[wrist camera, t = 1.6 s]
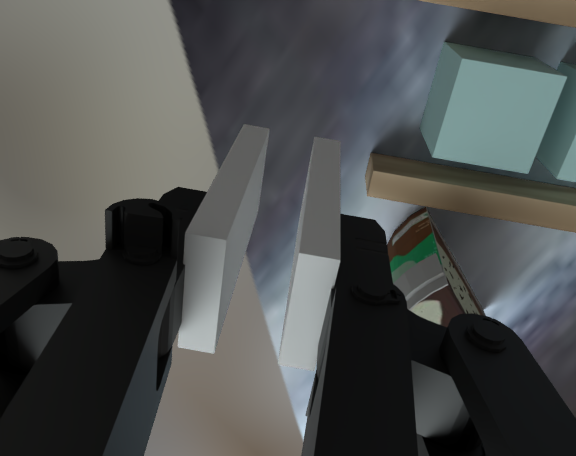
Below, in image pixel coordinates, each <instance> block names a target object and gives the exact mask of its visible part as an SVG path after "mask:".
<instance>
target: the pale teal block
mask: <svg viewBox="0 0 576 456" xmlns="http://www.w3.org/2000/svg"><path fill="white" fill-rule="evenodd" d="M566 79H567V76H565V75H564V74H562V73H560V72H558V71H557V70H555V69H553V68H551V67H550V66H548V65H546V64H544V63H543V62H541V61H539V60H537V59H536V58H534V57H530V56H524V55H518V54H512V53H507V52H501V51H495V50H489V49H484V48H478V47H472V46H466V45H460V44H455V43H449V42H444V43H443V47H442V50H441V54H440V57H439V61H438V64H437V68H436V72H435V75H434V79H433V82H432V86H431V89H430V93H429V96H428V100H427V103H426V107H425V111H424V114H423V118H422V121H421V125H420V130H421V133H422V135H423V137H424V140H425V142H426V144H427V146H428V149H429V151H430V153H431V155H432V157H433V158H439V159H445V160H450V161H456V162H462V163H468V164H473V165H479V166H485V167H491V168H496V169H502V170H508V171H514V172H519V173H525V174H528V173H529V170H530V168H531V166H532V163H533V161H534V158H535V156H536V153H537V151H538V148H539V146H540V143H541V141H542V138H543V136H544V133H545V131H546V128H547V126H548V123H549V121H550V119H551V116H552V114H553V111H554V109H555V106H556V104H557V101H558V99H559V96H560V94H561V91H562V89H563V86H564V84H565V81H566Z"/></svg>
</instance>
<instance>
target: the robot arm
mask: <svg viewBox="0 0 576 456" xmlns="http://www.w3.org/2000/svg"><path fill="white" fill-rule="evenodd" d="M268 136H269V129H268V128H262V127H257V126H251V125H245V124H244V125H243V127H242V129H241V130H240V132H239V134H238V136H237V138H236V140H235V142H234V143H233V145H232V147H231V149H230V151H229V153H228V155H227V156H226V158H225V160H224V162H223V164H222V166H221V167H220V169H219V171H218V173H217V175H216V177H215V179H214V180H213V182H212V184H211V186H210V188H209V190H208V192H204V191H198V190H193V189H187V188H181V187H177V188H175V189H173V190H171V191H169V192H167V193H165V194H163V196H162V197H161V198H160V200H159V201H157V200H153V199H138V198H137V199H129V200H123V201H120V202H117V203H114V204H112V205H111V206H109V208H107V209H106V210H105V233H106V234H105V235H106V250H105V252H104V253H103V255H102V256H101V258H100V259H98V260H90V261H58V253H57V250H56V249H55V247H54V246H53V245H52V244H50V243H48V242H46V241H44V240H41V239H35V238H29V237H21V238H19V237H13V238H9V239H4V240H0V456H144V453H145V450H146V446H147V443H148V440H149V436H150V433H151V429H152V426H153V423H154V420H155V416H156V413H157V410H158V406H159V403H160V400H161V397H162V393H163V390H164V387H165V383H166V380H167V377H168V373H169V370H170V367H171V360H172V345H173V342H174V340H175V338H176V335H177V333H178V331H179V336H178V347H180V348H185V349H192V350H197V351H202V352H208V353H214V352H215V349H216V346H217V343H218V339H219V336H220V333H221V330H222V326H223V323H224V320H225V317H226V313H227V310H228V307H229V304H230V300H231V297H232V294H233V291H234V288H235V284H236V281H237V278H238V275H239V271H240V268H241V265H242V262H243V258H244V255H245V252H246V249H247V246H248V242H249V239H250V236H251V233H252V229H253V226H254V223H255V220H256V216H257V213H258V208H259V201H260V194H261V187H262V179H263V172H264V165H265V158H266V151H267V143H268ZM386 244H387V242H386V235H385V231H384V230H383V229H382V228H381V226H380V225H379V224H378V223H377V222H376V221H375V220H373V219H367V218H361V217H356V216H350V215H344V214H340V141H337V140H331V139H325V138H319V137H314V142H313V148H312V153H311V159H310V164H309V170H308V175H307V180H306V186H305V191H304V197H303V202H302V208H301V213H300V219H299V225H298V232H297V239H296V245H295V252H294V259H293V266H292V272H291V279H290V286H289V293H288V299H287V306H286V313H285V319H284V326H283V333H282V340H281V346H280V353H279V360H278V365H281V366H287V367H293V368H298V369H304V370H310V371H314V370H315V366H316V361H317V370H316V374H315V378H314V382H313V386H312V391H311V395H310V399H309V403H308V407H307V411H306V416H308V417H307V423H306V430H305V436H304V442H303V449H302V455H301V456H576V418H575V417H574V415H573V414H572V413H571V411H570V410H569V408H568V407H567V405H566V404H565V402H564V401H563V399H562V398H561V397H560V395H559V394H558V392H557V391H556V389H555V388H554V386H553V385H552V383H551V382H550V381H549V379H548V378H547V376H546V375H545V373H544V372H543V370H542V369H541V367H540V366H539V365H538V363H537V362H536V360H535V359H534V357H533V356H532V354H531V353H530V351H529V350H528V349H527V347H526V346H525V344H524V343H523V341H522V340H521V339H520V338H519V337H518V336H517V335H516V333H515V332H514V331H513V330H511V329H510V328H508V327H507V326H505V325H504V324H502V323H501V322H499V321H497V320H495V319H492V318H490V317H487V316H483V315H478V314H473V313H468V314H459V315H457V316H455V317H453V318H451V320H450V322H449V325H448V327H445V326H442V325H439V324H437V323H434V322H432V321H429V320H427V319H424V318H422V317H420V316H418V315H416V314H415V313H413V312H412V311H410V310H408V309H407V301H406V299H405V296H404V293H403V292H402V291H401V290H400V289H399V288H398V287H397V286H396V285H394V284H393V280H392V273H391V267H390V261H389V255H388V248H387V245H386Z"/></svg>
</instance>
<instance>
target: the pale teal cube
mask: <svg viewBox="0 0 576 456" xmlns="http://www.w3.org/2000/svg"><path fill="white" fill-rule="evenodd" d="M557 71H558V72H560V73H562V74H564V75H565V76H567V79H566V81H565V84H564V86H563V89H562V91H561V94H560V96H559V99H558V101H557V104H556V106H555V109H554V111H553V114H552V116H551V119H550V121H549V123H548V126H547V128H546V131H545V133H544V136H543V138H542V141H541V143H540V146H539V148H538V151H537V153H536V157H537V159H538V160H539V161H540V162H541V163H542V164H543V165H544V166H545V167H546V168H547V169H548V170H549V172H550V173H551V174H552V175H553V176H554V177H555V178H556V179H559V180H565V181H571V182H576V64H570V63H564V62H560V64H559V66H558V69H557Z"/></svg>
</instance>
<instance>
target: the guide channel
mask: <svg viewBox="0 0 576 456" xmlns="http://www.w3.org/2000/svg"><path fill="white" fill-rule="evenodd" d="M419 1H425V2H431V3H437V4H442V5H448V6H454V7H460V8H465V9H471V10H477V11H483V12H488V13H494V14H500V15H506V16H512V17H517V18H523V19H529V20H535V21H540V22H546V23H552V24H558V25H563V26H569V27H575V28H576V0H419ZM365 180H366V189H367V196H370V197H375V198H381V199H387V200H392V201H398V202H404V203H410V204H415V205H421V206H427V207H432V208H438V209H444V210H449V211H455V212H461V213H467V214H472V215H478V216H484V217H489V218H495V219H501V220H506V221H512V222H518V223H524V224H529V225H535V226H541V227H546V228H552V229H558V230H564V231H569V232H575V233H576V188H571V187H565V186H560V185H554V184H548V183H542V182H537V181H531V180H525V179H520V178H514V177H508V176H502V175H497V174H491V173H485V172H480V171H474V170H468V169H462V168H457V167H451V166H445V165H440V164H434V163H428V162H422V161H417V160H411V159H405V158H399V157H394V156H388V155H382V154H377V153H371V154H370V158H369V162H368V166H367V170H366V174H365Z"/></svg>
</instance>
